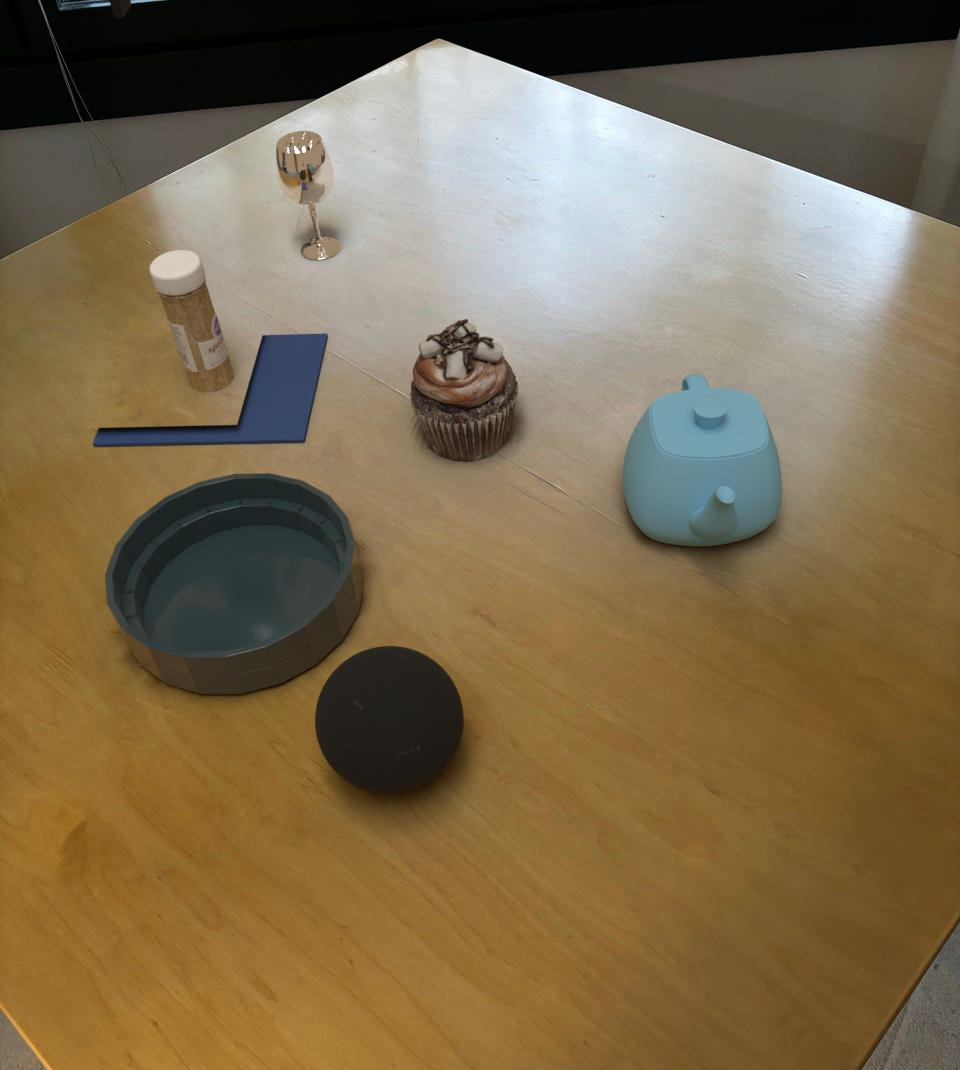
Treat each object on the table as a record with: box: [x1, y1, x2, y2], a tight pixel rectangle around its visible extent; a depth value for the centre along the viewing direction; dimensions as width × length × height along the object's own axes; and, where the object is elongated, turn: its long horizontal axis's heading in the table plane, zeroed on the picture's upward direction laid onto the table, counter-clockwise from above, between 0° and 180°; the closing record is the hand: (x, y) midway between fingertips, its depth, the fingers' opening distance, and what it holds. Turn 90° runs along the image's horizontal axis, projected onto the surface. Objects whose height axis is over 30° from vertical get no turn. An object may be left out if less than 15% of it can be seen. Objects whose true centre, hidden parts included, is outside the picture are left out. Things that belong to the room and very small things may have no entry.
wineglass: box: [275, 130, 342, 261], centre depth 114 cm, size 6×6×12 cm
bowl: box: [104, 472, 365, 695], centre depth 85 cm, size 19×19×5 cm
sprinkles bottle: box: [149, 249, 235, 394], centre depth 99 cm, size 5×5×13 cm
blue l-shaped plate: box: [92, 332, 329, 448], centre depth 104 cm, size 20×16×1 cm
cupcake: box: [409, 318, 520, 462], centre depth 94 cm, size 10×10×10 cm
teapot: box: [622, 373, 783, 547], centre depth 85 cm, size 13×11×18 cm
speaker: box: [314, 645, 465, 796], centre depth 73 cm, size 10×10×10 cm
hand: (45, 16), depth 91 cm, fingers open, 13 cm apart
